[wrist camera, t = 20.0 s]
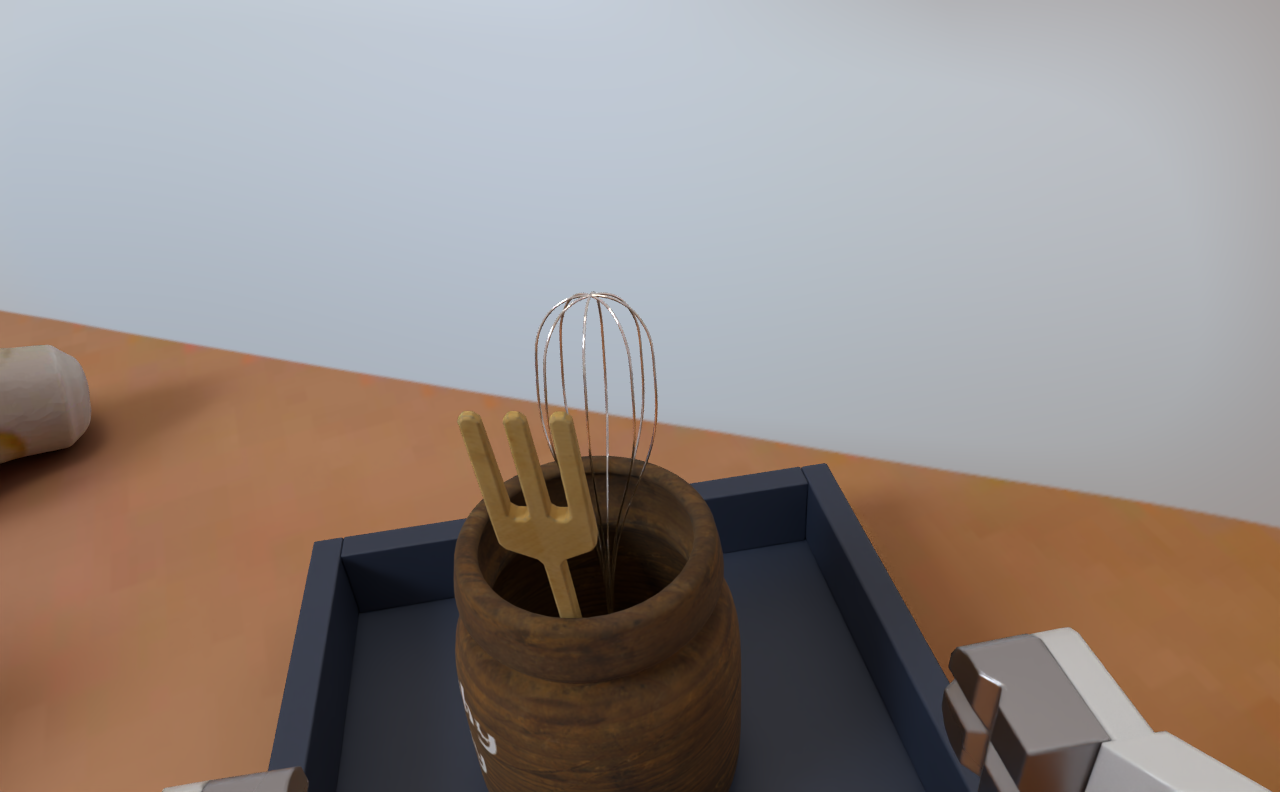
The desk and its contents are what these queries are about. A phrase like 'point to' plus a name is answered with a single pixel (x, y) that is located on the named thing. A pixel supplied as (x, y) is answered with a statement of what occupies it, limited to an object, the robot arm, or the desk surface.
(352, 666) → the tray
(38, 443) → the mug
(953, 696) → the robot arm
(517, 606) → the utensil holder
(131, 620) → the desk surface
